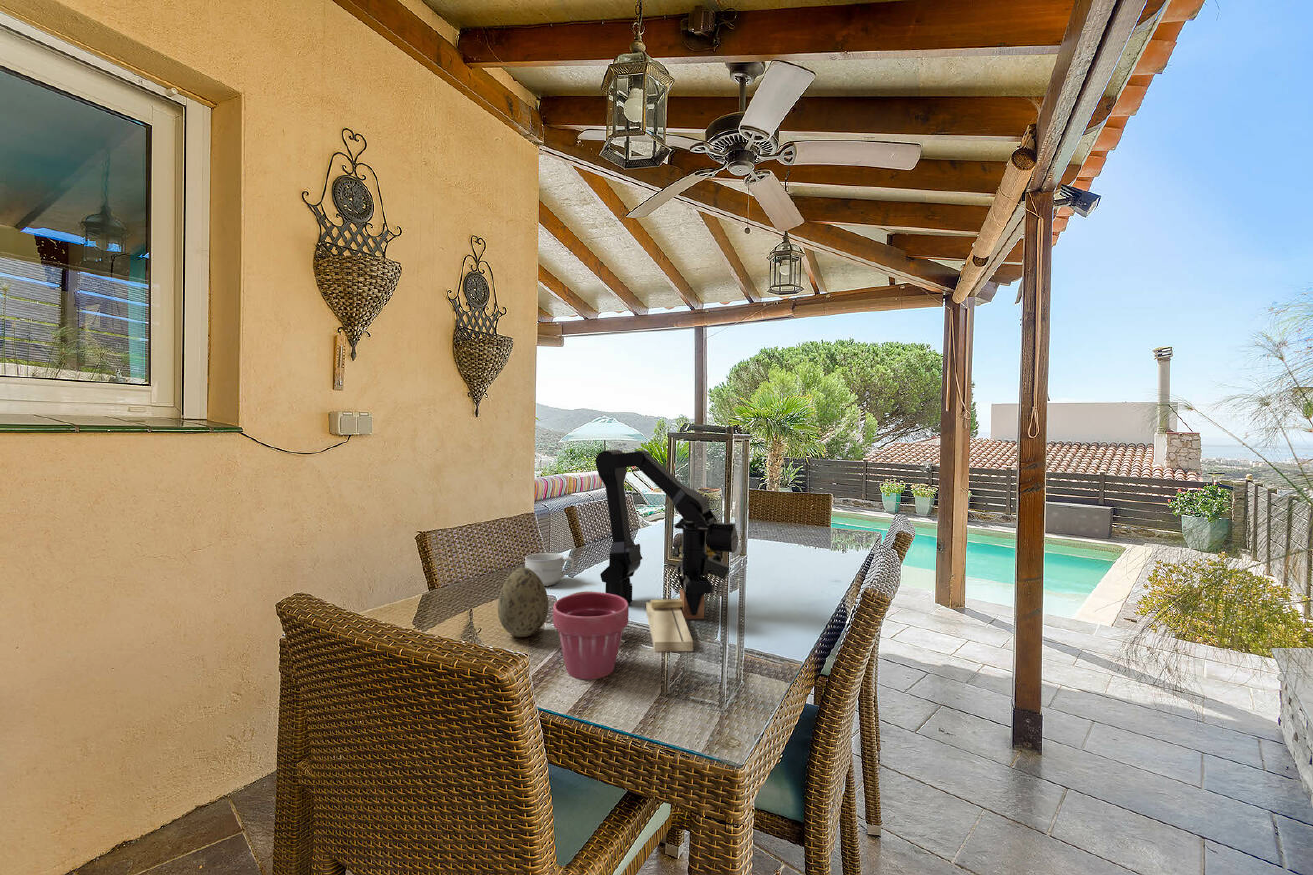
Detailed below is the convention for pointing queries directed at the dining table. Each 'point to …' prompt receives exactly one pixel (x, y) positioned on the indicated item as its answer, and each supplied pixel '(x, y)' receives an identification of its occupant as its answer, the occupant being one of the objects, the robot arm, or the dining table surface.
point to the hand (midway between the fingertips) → (692, 611)
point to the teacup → (548, 566)
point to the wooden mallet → (682, 604)
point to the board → (668, 629)
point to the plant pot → (590, 632)
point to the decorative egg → (523, 603)
